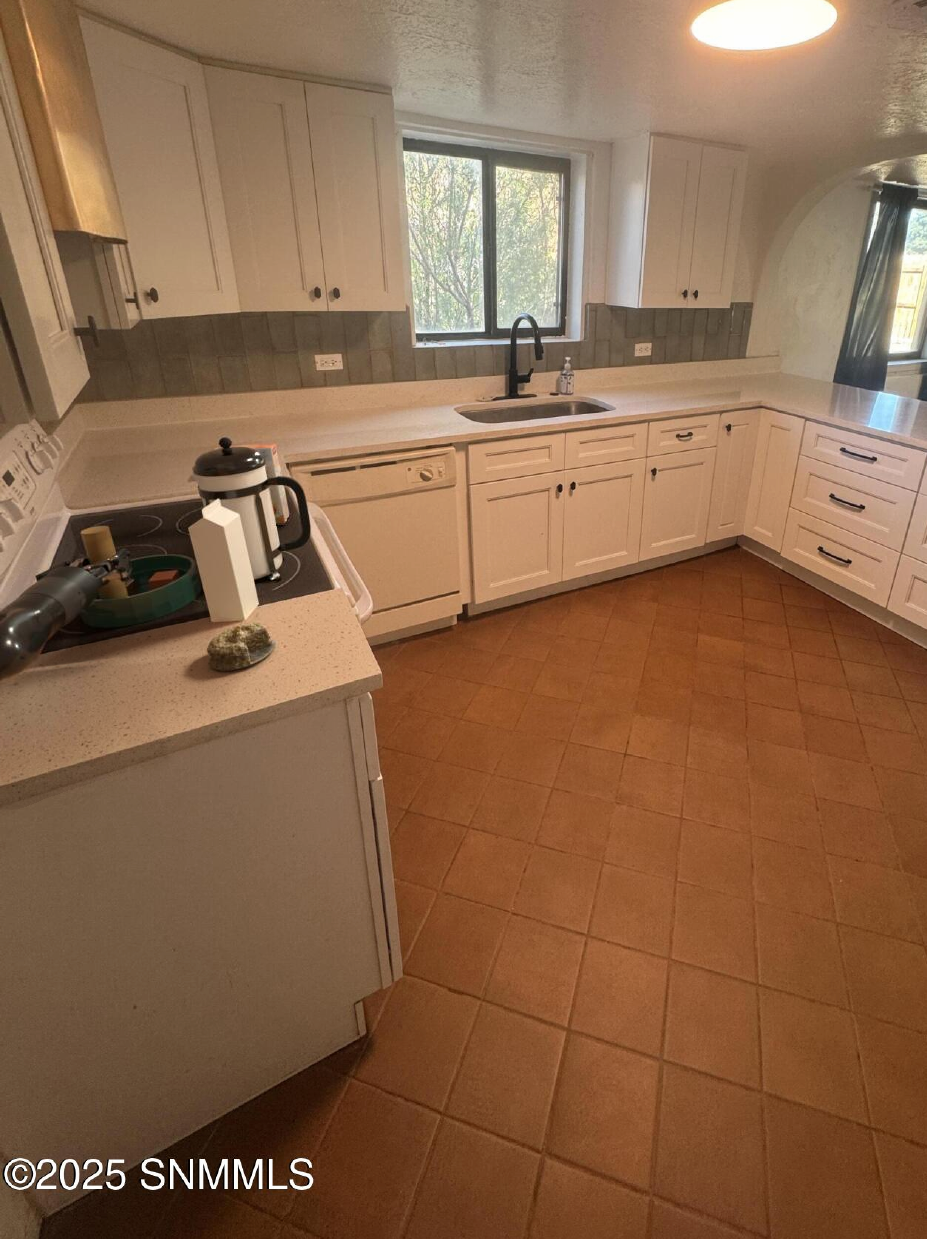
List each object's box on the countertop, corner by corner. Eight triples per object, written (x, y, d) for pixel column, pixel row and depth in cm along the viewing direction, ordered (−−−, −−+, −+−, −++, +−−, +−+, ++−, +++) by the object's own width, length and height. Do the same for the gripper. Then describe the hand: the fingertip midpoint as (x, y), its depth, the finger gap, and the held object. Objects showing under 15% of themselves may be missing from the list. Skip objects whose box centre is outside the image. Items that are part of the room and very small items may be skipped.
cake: (197, 677, 90) (186, 648, 89) (228, 642, 100) (219, 615, 98) (260, 670, 90) (251, 640, 89) (285, 635, 100) (277, 608, 98)
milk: (259, 606, 110) (237, 497, 103) (245, 623, 104) (220, 509, 97) (227, 607, 110) (202, 498, 102) (210, 624, 104) (183, 510, 97)
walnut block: (106, 609, 109) (100, 590, 107) (117, 599, 112) (111, 580, 111) (130, 606, 110) (124, 588, 108) (140, 596, 113) (134, 578, 112)
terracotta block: (153, 599, 112) (147, 581, 111) (160, 590, 116) (155, 572, 114) (176, 596, 113) (171, 578, 112) (183, 587, 117) (178, 569, 115)
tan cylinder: (100, 617, 104) (75, 534, 99) (111, 606, 108) (88, 526, 103) (125, 614, 105) (101, 532, 100) (135, 604, 109) (113, 524, 104)
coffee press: (246, 601, 112) (213, 451, 102) (198, 583, 119) (162, 441, 109) (320, 566, 126) (296, 431, 116) (272, 552, 134) (247, 424, 123)
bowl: (59, 637, 101) (48, 606, 99) (114, 585, 119) (106, 559, 117) (179, 623, 105) (171, 594, 103) (215, 575, 123) (209, 550, 121)
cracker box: (290, 518, 154) (276, 441, 147) (285, 526, 148) (271, 447, 141) (234, 523, 151) (216, 445, 144) (226, 531, 146) (208, 451, 139)
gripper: (101, 572, 90) (149, 532, 106) (-5, 583, 88) (61, 539, 104) (114, 614, 93) (159, 568, 109) (12, 625, 90) (74, 577, 106)
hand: (111, 554), depth 106 cm, fingers closed on tan cylinder, 4 cm apart
